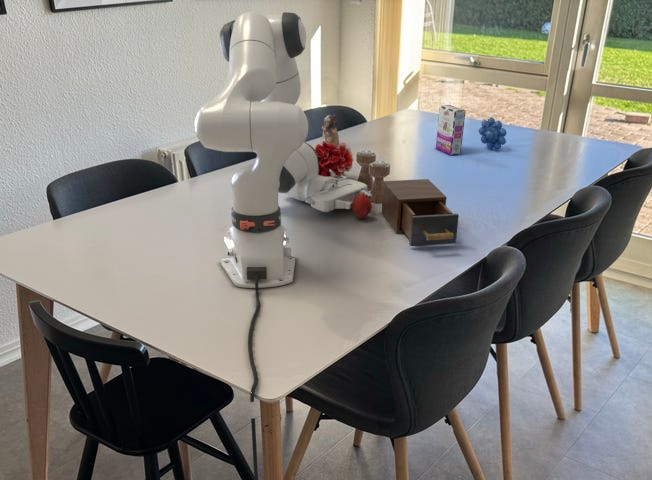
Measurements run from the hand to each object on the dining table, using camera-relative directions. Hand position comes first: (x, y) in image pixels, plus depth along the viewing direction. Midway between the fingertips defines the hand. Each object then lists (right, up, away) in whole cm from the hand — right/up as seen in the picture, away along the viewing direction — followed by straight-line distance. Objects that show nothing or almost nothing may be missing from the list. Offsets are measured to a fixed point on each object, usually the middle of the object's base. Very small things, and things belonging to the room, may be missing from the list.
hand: (360, 202), depth 204 cm
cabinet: (+15, -6, +1) cm, 16 cm away
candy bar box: (+36, +35, +67) cm, 84 cm away
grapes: (+53, +36, +70) cm, 95 cm away
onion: (0, -4, +3) cm, 5 cm away
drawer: (+18, -12, -12) cm, 25 cm away
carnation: (-17, +20, +41) cm, 49 cm away
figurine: (-10, +38, +71) cm, 81 cm away
